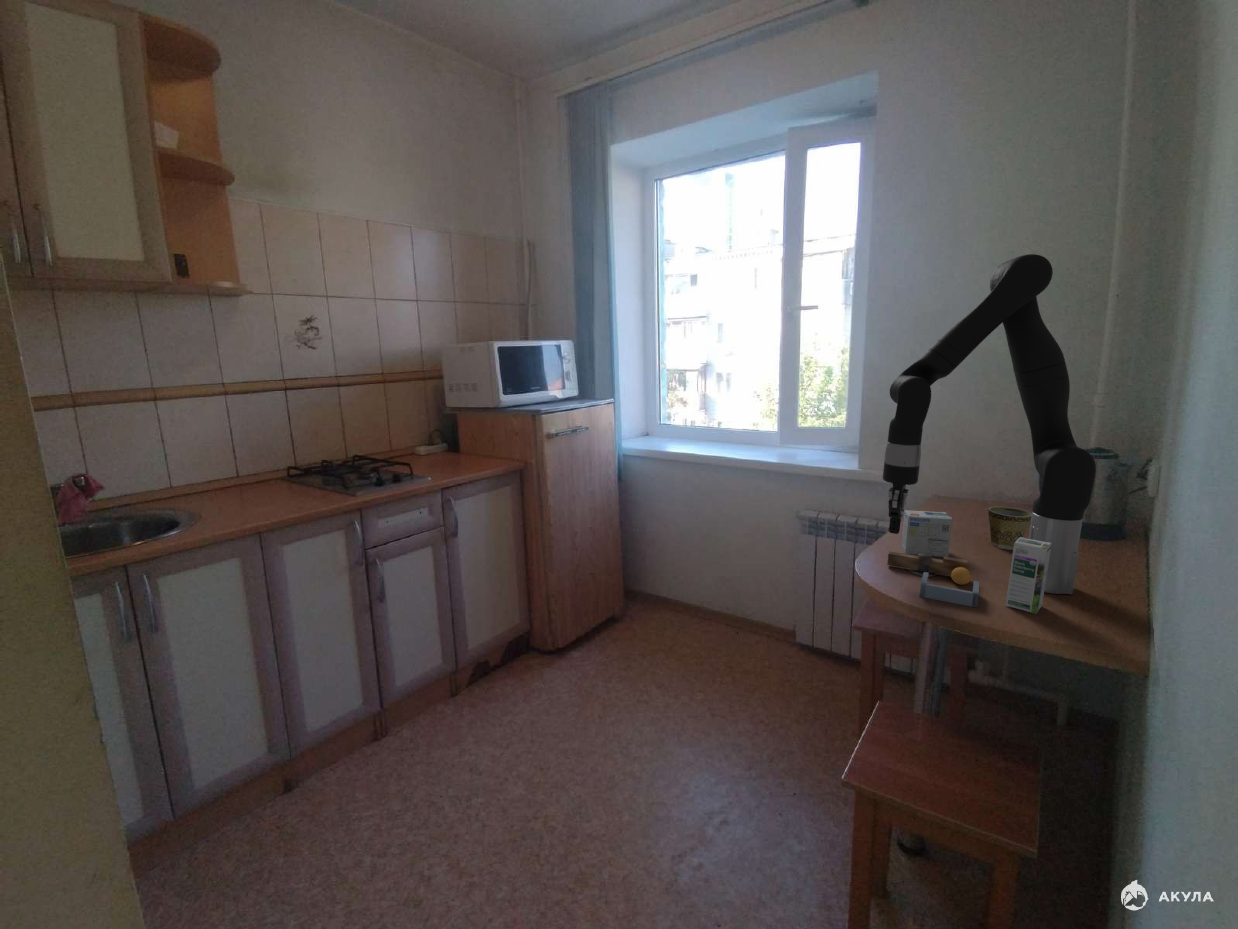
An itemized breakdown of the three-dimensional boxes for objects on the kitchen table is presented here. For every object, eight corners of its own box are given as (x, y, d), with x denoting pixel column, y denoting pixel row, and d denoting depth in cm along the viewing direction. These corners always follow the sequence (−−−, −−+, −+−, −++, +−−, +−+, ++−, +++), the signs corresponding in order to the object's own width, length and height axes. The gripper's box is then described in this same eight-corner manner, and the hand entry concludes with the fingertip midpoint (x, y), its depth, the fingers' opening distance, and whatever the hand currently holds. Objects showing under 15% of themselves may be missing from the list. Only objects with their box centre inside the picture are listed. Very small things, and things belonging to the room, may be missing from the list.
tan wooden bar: (965, 575, 139) (967, 559, 139) (965, 579, 137) (967, 563, 136) (888, 561, 148) (890, 546, 147) (887, 565, 146) (888, 550, 145)
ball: (970, 582, 137) (972, 566, 136) (969, 588, 133) (971, 572, 132) (950, 579, 139) (952, 563, 138) (949, 585, 135) (951, 569, 134)
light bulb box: (942, 549, 159) (947, 511, 156) (949, 558, 152) (953, 518, 150) (899, 546, 161) (903, 508, 159) (904, 554, 155) (908, 515, 153)
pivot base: (937, 570, 144) (937, 569, 144) (936, 578, 139) (936, 577, 139) (910, 565, 147) (910, 564, 147) (908, 573, 142) (908, 572, 142)
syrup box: (1004, 606, 124) (1013, 542, 121) (1011, 598, 128) (1020, 535, 125) (1036, 615, 120) (1046, 548, 117) (1042, 606, 124) (1052, 541, 121)
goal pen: (977, 594, 130) (979, 581, 130) (977, 607, 124) (978, 594, 123) (922, 584, 136) (923, 571, 135) (919, 596, 129) (920, 583, 129)
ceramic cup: (1025, 555, 154) (1031, 518, 152) (982, 547, 160) (986, 512, 158) (1028, 541, 164) (1033, 507, 162) (987, 535, 170) (991, 502, 168)
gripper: (917, 469, 128) (908, 543, 132) (922, 459, 139) (914, 528, 143) (880, 465, 132) (872, 537, 136) (888, 455, 143) (881, 522, 147)
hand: (894, 532), depth 139 cm, fingers closed
